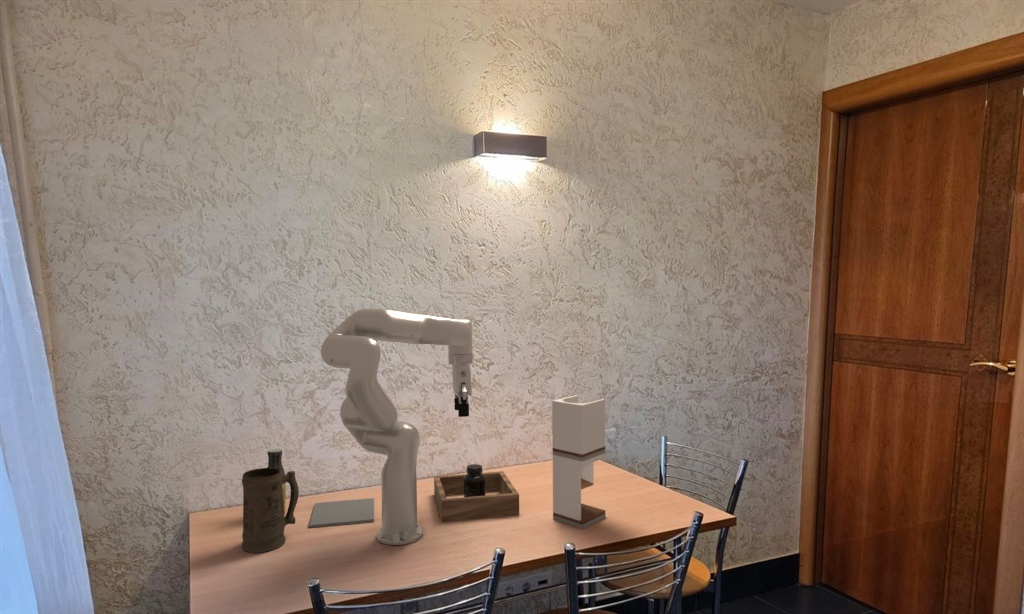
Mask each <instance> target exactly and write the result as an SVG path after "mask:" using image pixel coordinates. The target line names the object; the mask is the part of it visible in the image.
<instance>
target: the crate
mask: <svg viewBox="0 0 1024 614" xmlns="http://www.w3.org/2000/svg"><path fill="white" fill-rule="evenodd" d="M466 474H467V473H465V474H454V475H453V474H451V475H439V476H438V475H437V476H433V479H434V480H433V482H434V483H433V485H434V486H433V488H434V489H433V490H434V491H433V493H434V494H435V495H434V498H436V499H435V502H436V501H437V502H436V505H438V506H437V508H439V509H438V513H439V512H440V513H439V515H440V519H442V520H441V522H449V521H448V520H453V521H460V520H461V521H463V520H472V519H482V518H483V519H485V518H494V517H501V516H502V517H505V516H512V515H513V516H514V515H520V493H519V492H518V491H517V489H516V488H515V486H514V485H513V484H512V482H511V480H510V479H509V478H508V476H507V475H506V473H505V472H504V471H491V472H482V474H483V475H484V476H485V480H486V491H492V492H498V491H497V490H500V491H499V492H500V494H499V493H497V494H488V495H485V496H474V497H464V496H463V497H452V498H447V496H450V495H449V494H457V495H463V494H462V493H464V476H465V475H466ZM462 519H463V520H462Z"/></svg>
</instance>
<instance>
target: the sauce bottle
mask: <svg viewBox="0 0 1024 614" xmlns="http://www.w3.org/2000/svg"><path fill="white" fill-rule="evenodd" d="M282 455H283V450H282V448H273V449H269V450H268V451H267V457H268V464H267V467H266V468H277V469H280V470H281V472H282V476H284V475H286V472H285V469H284V467H283V462H282ZM286 483H287V482H285V483H284V484H283V485H282V491H283V495H284V515H286V504H287V503H286V498H287V497H286V495H287V494H286V488H287V487H286Z"/></svg>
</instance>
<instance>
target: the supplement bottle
mask: <svg viewBox="0 0 1024 614" xmlns="http://www.w3.org/2000/svg"><path fill="white" fill-rule="evenodd" d="M482 473H483V465H481V464H478V463H477V464H476V463H474V464H469V465H467V466H466V473H465V474H466V475H465V476H464V494H463V497H474V496H485V495H486V494H487V493H486V480H485V476H484V475H483V474H482Z"/></svg>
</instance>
